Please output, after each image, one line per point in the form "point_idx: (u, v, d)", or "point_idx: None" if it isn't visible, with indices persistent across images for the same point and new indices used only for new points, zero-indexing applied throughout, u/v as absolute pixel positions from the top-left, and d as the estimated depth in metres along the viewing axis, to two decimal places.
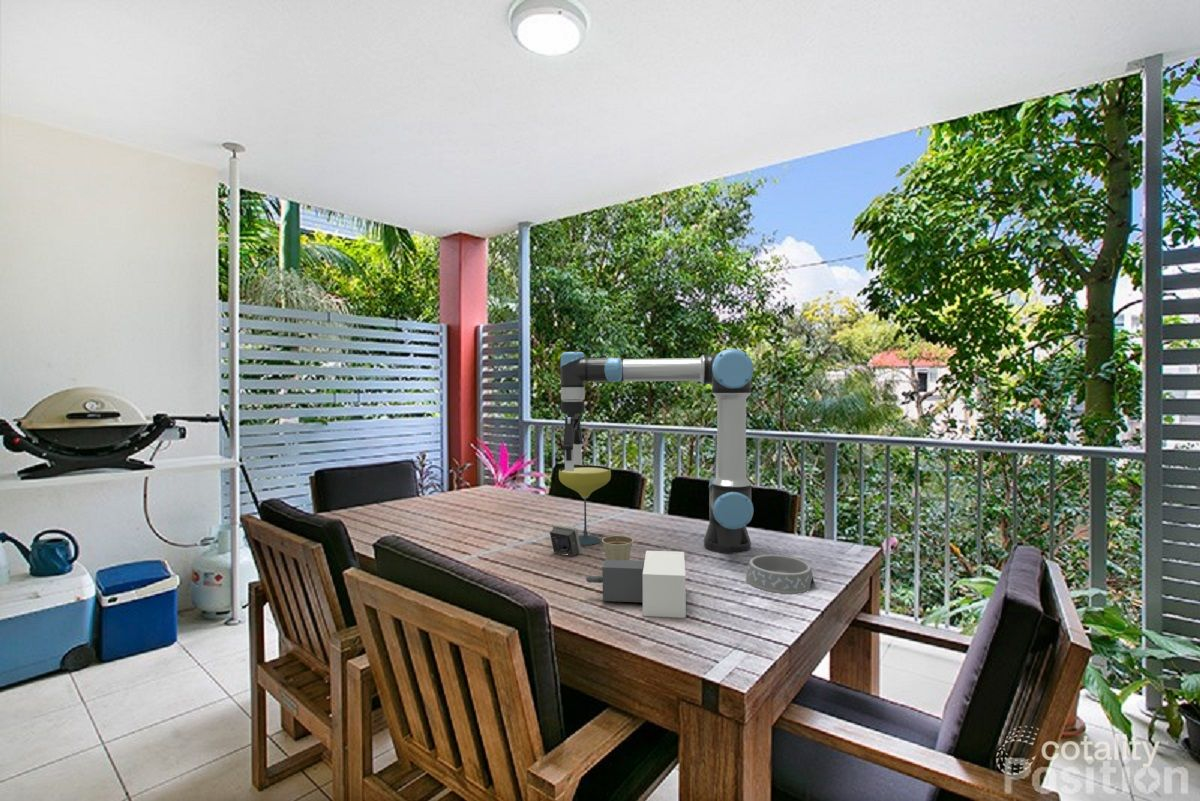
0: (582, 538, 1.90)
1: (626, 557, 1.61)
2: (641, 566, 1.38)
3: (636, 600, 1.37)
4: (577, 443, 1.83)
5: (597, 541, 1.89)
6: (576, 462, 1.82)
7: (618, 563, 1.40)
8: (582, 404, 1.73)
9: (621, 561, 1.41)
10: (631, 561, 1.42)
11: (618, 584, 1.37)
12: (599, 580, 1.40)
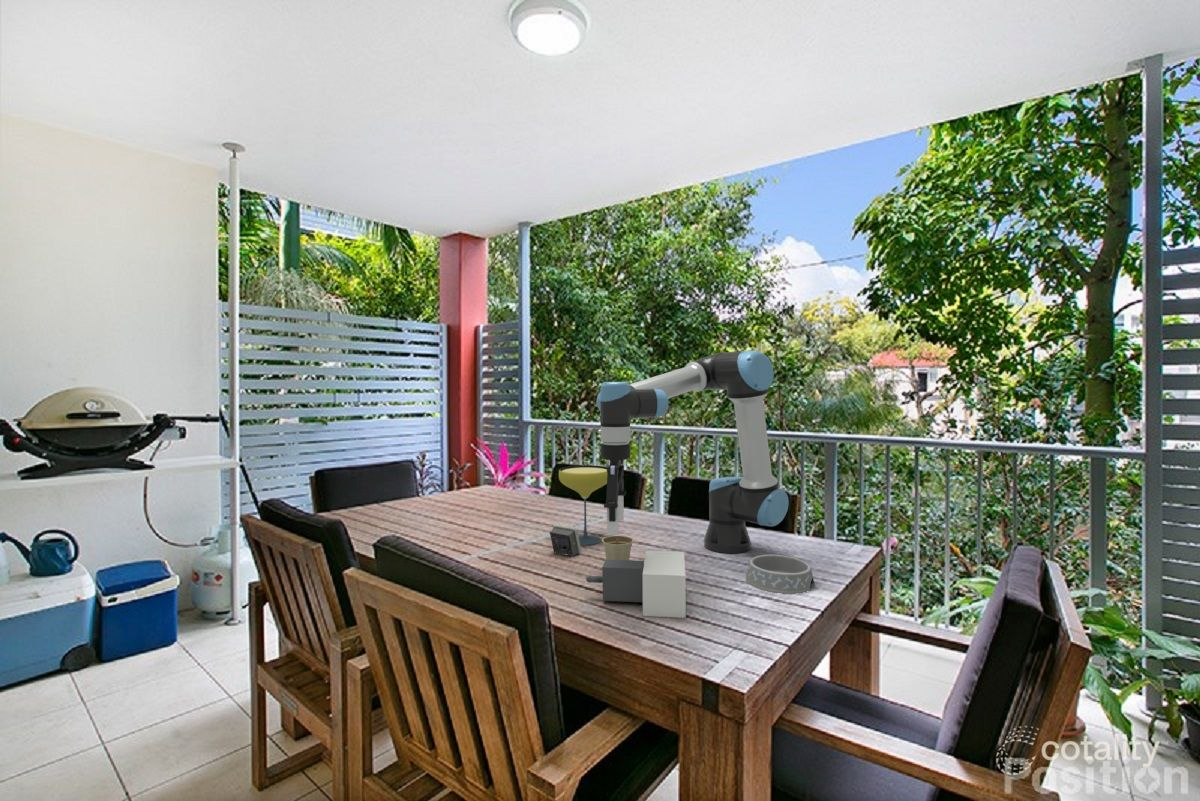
0: (582, 538, 1.90)
1: (626, 557, 1.61)
2: (641, 566, 1.38)
3: (636, 600, 1.37)
4: (619, 494, 1.46)
5: (597, 541, 1.89)
6: (617, 518, 1.46)
7: (618, 563, 1.40)
8: (628, 448, 1.37)
9: (621, 561, 1.41)
10: (631, 561, 1.42)
11: (618, 584, 1.37)
12: (599, 580, 1.40)
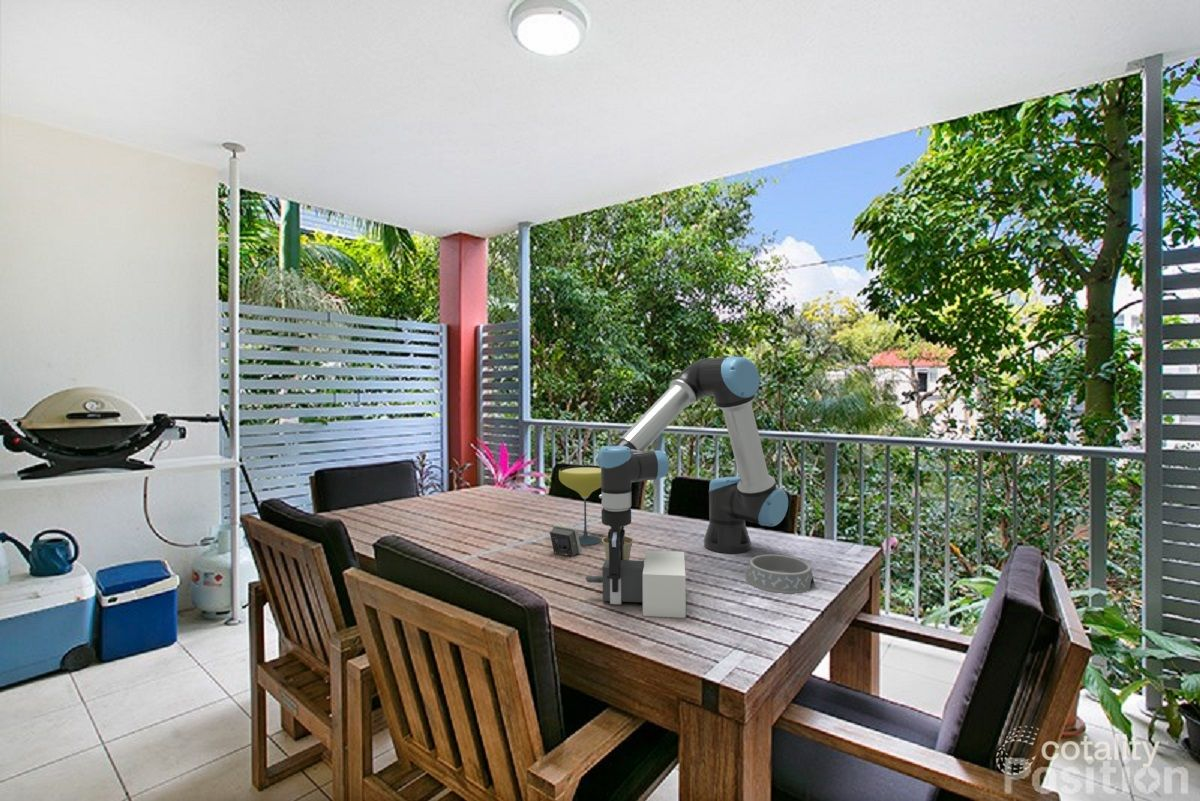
0: (582, 538, 1.90)
1: (626, 557, 1.61)
2: (641, 566, 1.38)
3: (636, 600, 1.37)
4: None
5: (597, 541, 1.89)
6: None
7: None
8: (629, 514, 1.38)
9: (621, 561, 1.41)
10: (631, 561, 1.42)
11: None
12: (599, 580, 1.40)
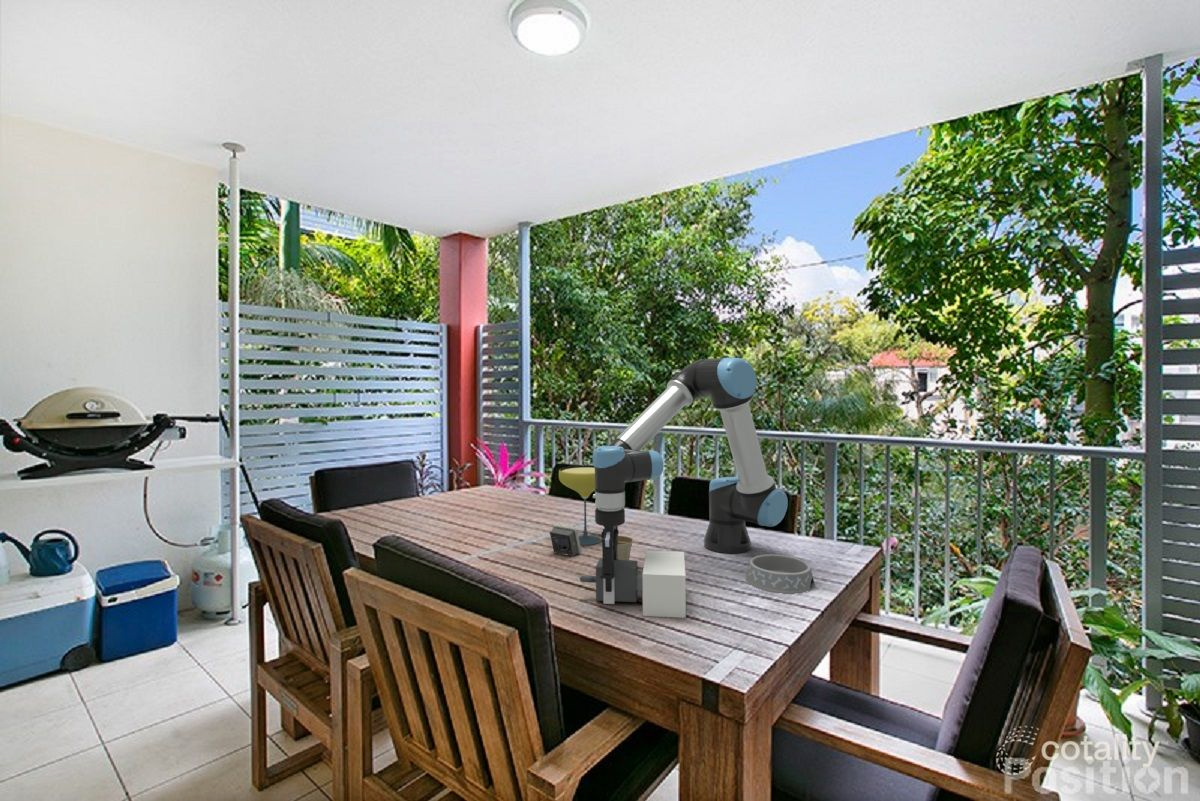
0: (582, 538, 1.90)
1: (626, 557, 1.61)
2: (634, 566, 1.38)
3: (629, 600, 1.37)
4: None
5: (597, 541, 1.89)
6: None
7: None
8: (622, 513, 1.38)
9: (614, 561, 1.42)
10: (625, 561, 1.42)
11: None
12: (593, 580, 1.40)
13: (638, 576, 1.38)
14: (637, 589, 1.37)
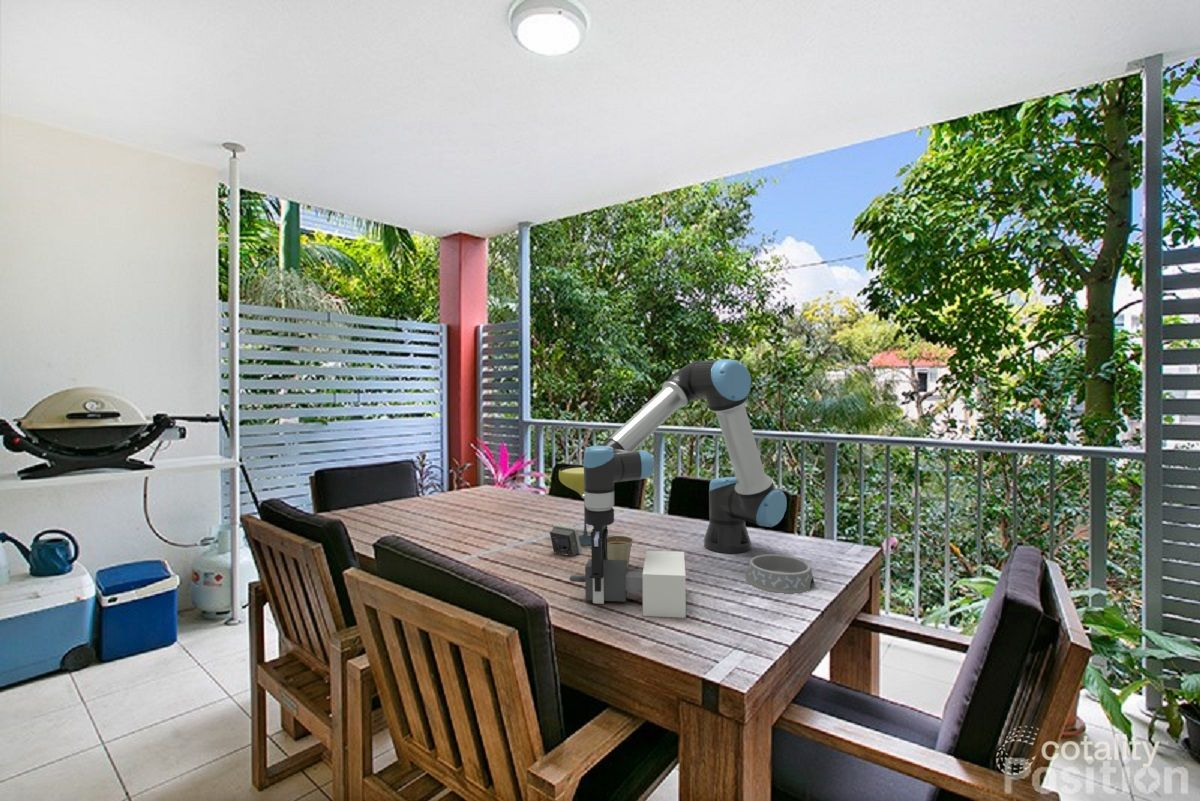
0: (582, 538, 1.90)
1: (626, 557, 1.61)
2: (624, 565, 1.38)
3: (619, 599, 1.37)
4: None
5: None
6: None
7: None
8: (611, 513, 1.38)
9: (604, 561, 1.42)
10: (614, 560, 1.42)
11: None
12: (582, 579, 1.40)
13: (627, 576, 1.38)
14: (626, 589, 1.38)
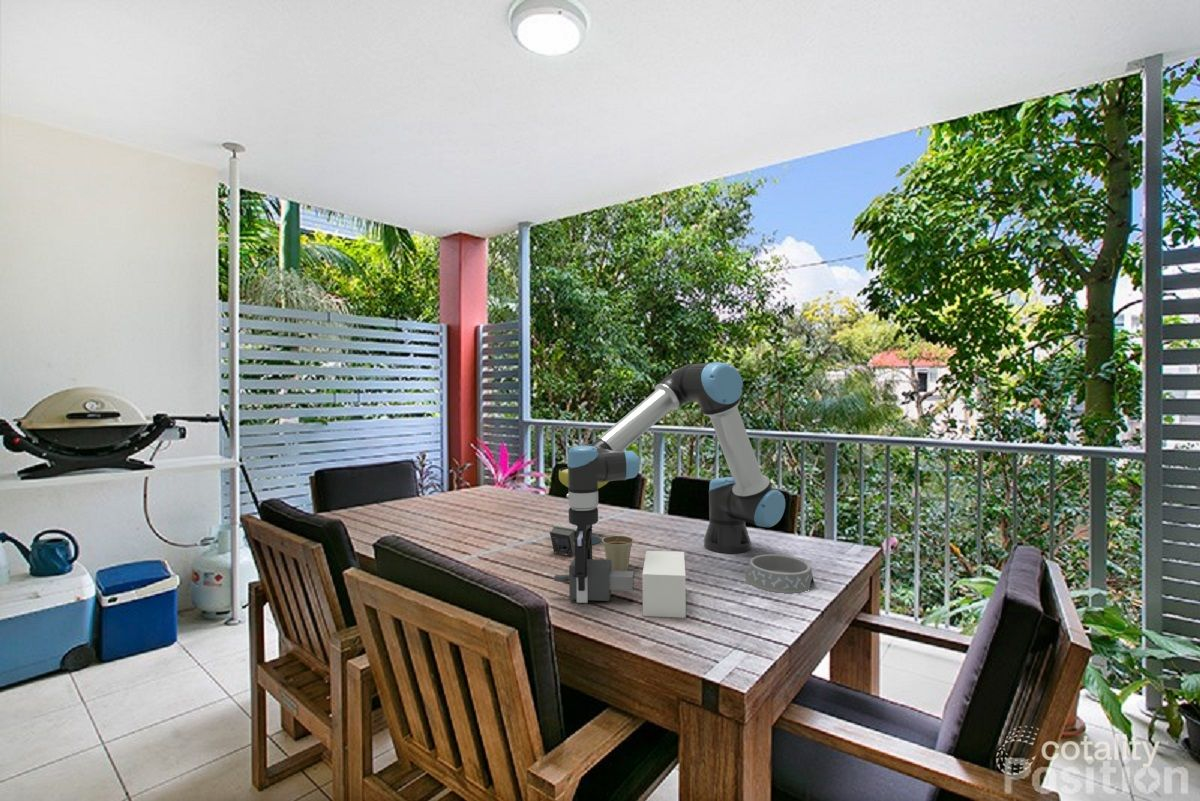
0: None
1: (626, 558, 1.61)
2: (608, 565, 1.39)
3: (602, 599, 1.38)
4: None
5: (597, 541, 1.89)
6: None
7: None
8: (595, 513, 1.39)
9: (588, 560, 1.43)
10: (599, 560, 1.43)
11: None
12: (566, 579, 1.41)
13: (611, 575, 1.39)
14: (610, 588, 1.38)
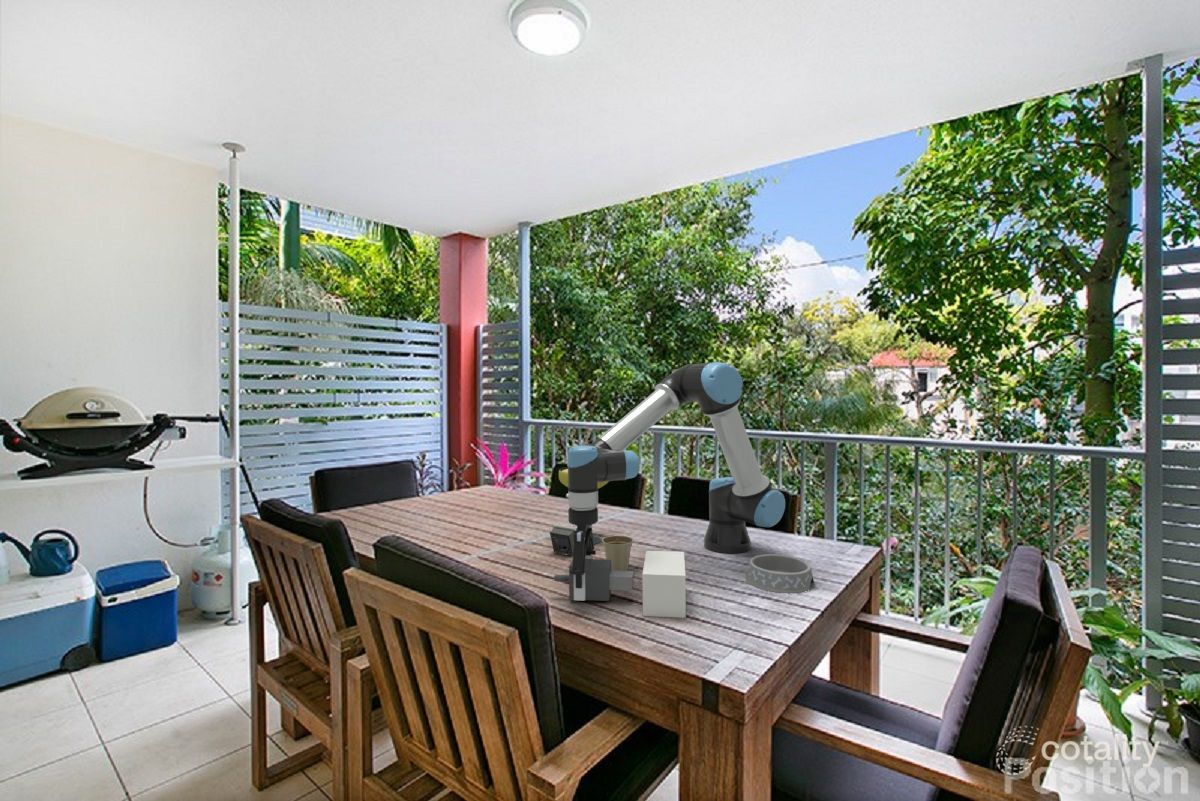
0: None
1: (625, 557, 1.61)
2: (607, 565, 1.39)
3: (602, 599, 1.38)
4: (588, 554, 1.48)
5: (597, 541, 1.89)
6: None
7: (585, 561, 1.42)
8: (595, 513, 1.39)
9: (588, 560, 1.43)
10: (598, 560, 1.43)
11: (585, 583, 1.38)
12: (566, 579, 1.41)
13: (611, 575, 1.39)
14: (610, 588, 1.38)
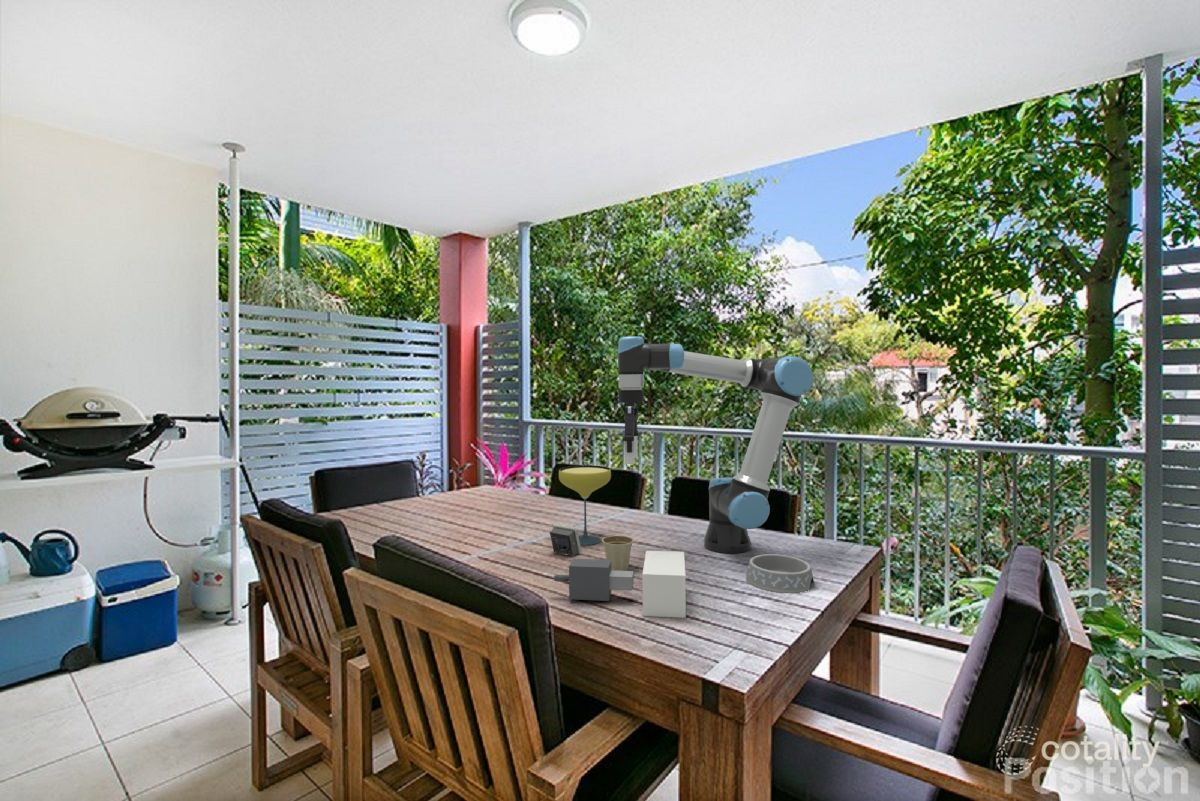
0: (582, 538, 1.90)
1: (626, 557, 1.61)
2: (607, 565, 1.39)
3: (602, 599, 1.38)
4: (633, 435, 1.71)
5: (597, 541, 1.89)
6: None
7: (585, 561, 1.42)
8: (642, 392, 1.62)
9: (588, 560, 1.43)
10: (598, 560, 1.43)
11: (585, 583, 1.38)
12: (566, 579, 1.41)
13: (611, 575, 1.39)
14: (610, 588, 1.38)
